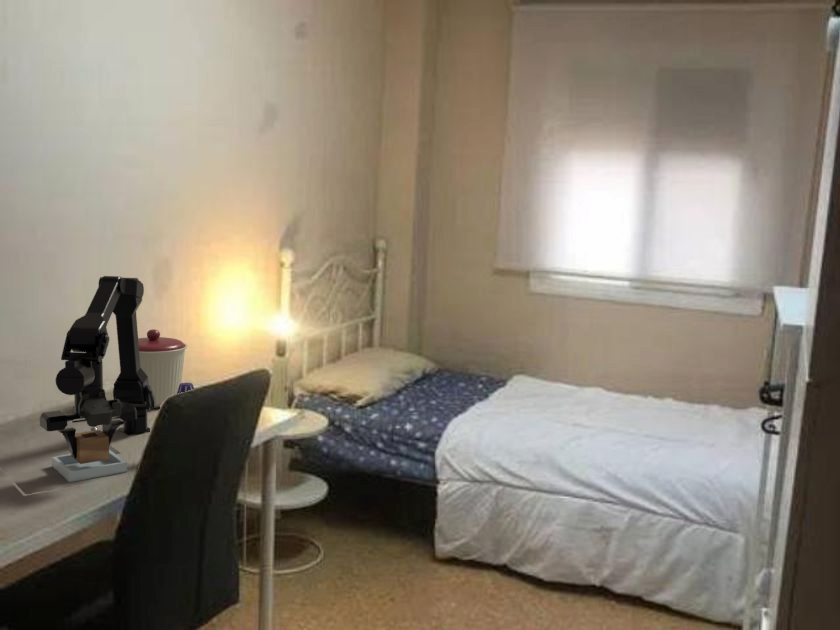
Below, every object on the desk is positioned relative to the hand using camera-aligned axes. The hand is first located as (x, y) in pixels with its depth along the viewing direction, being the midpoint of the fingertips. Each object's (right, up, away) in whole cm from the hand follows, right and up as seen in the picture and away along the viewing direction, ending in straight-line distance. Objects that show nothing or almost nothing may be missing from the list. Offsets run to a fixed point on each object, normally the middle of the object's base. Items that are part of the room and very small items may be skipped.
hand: (90, 455), depth 189 cm
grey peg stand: (-4, -2, +14) cm, 14 cm away
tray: (-1, -4, +1) cm, 4 cm away
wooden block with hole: (-1, 0, +1) cm, 1 cm away
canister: (-4, +5, +59) cm, 60 cm away
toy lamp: (+17, -2, +15) cm, 22 cm away
